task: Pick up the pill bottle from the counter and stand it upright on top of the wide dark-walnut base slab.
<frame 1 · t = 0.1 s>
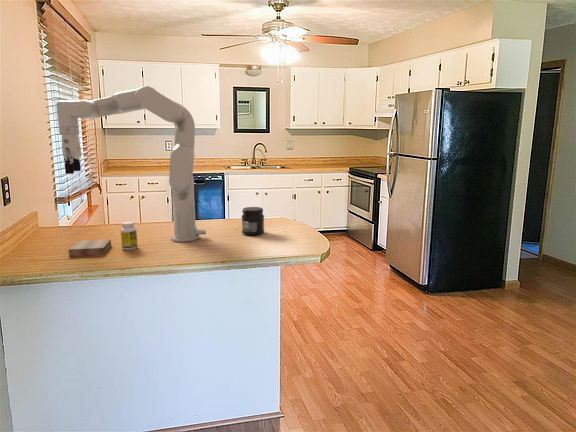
hand: (73, 172, 192), 31 cm above the table, fingers open, 9 cm apart
pill bottle: (130, 248, 190), on the table
supplement container: (253, 234, 213), on the table
walnut base: (91, 251, 186), on the table
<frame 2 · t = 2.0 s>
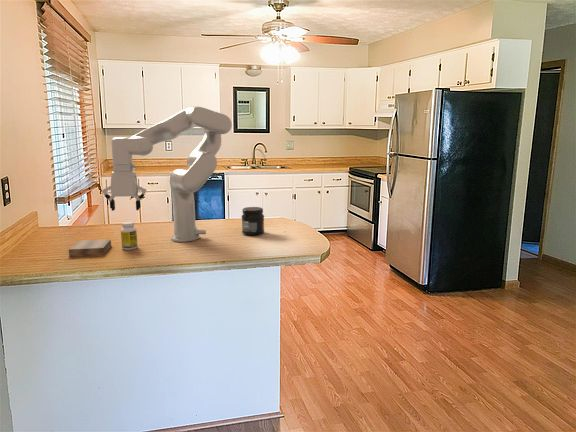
hand: (125, 209, 186), 16 cm above the table, fingers open, 9 cm apart
nothing on the table moved.
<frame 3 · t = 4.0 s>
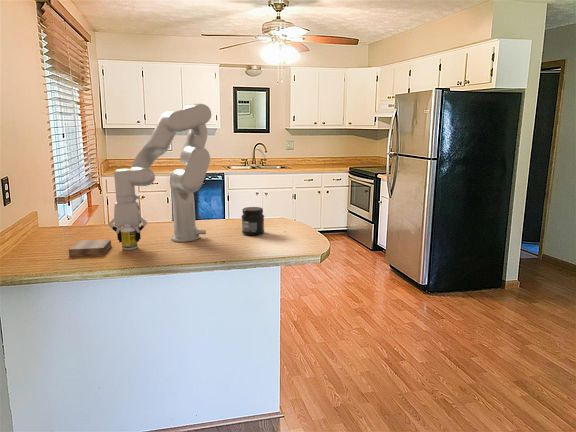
hand: (129, 241, 189), 3 cm above the table, fingers closed on pill bottle, 6 cm apart
pill bottle: (130, 248, 190), on the table, touching gripper
everything else where it was.
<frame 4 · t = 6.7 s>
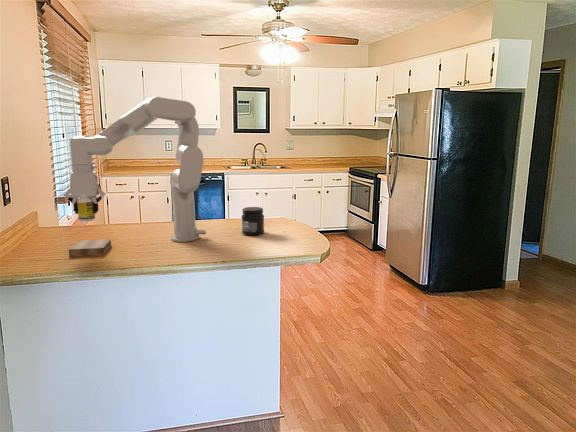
hand: (86, 212, 182), 16 cm above the table, fingers closed on pill bottle, 6 cm apart
pill bottle: (87, 220, 183), point 13 cm above the table, touching gripper
everything else where it was.
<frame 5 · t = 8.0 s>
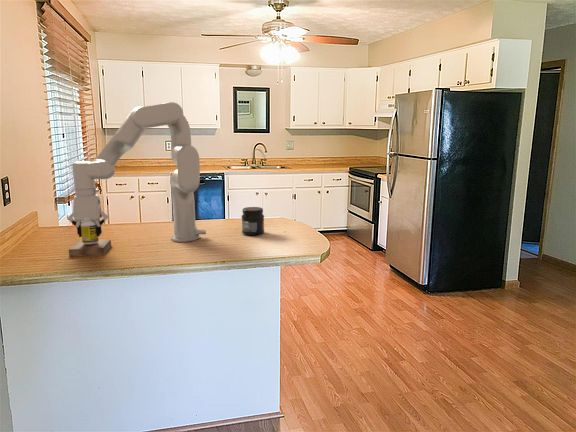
hand: (90, 235, 184), 7 cm above the table, fingers closed on pill bottle, 6 cm apart
pill bottle: (90, 243, 185), point 3 cm above the table, touching gripper
everything else where it was.
when the fingers open (7 cm above the table, at t = 9.2 s): pill bottle stays where it is, resting on walnut base.
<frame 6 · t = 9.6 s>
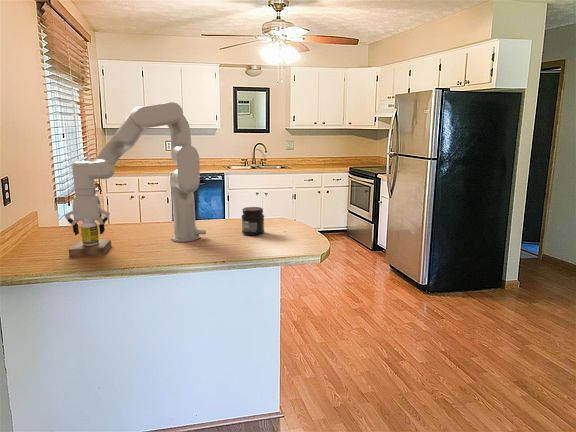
hand: (89, 233, 184), 7 cm above the table, fingers open, 9 cm apart
pill bottle: (91, 244, 185), point 3 cm above the table, touching walnut base
everything else where it was.
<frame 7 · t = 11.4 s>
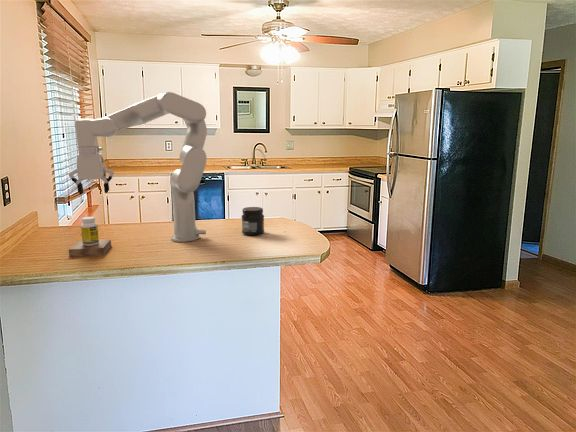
hand: (94, 193, 183), 24 cm above the table, fingers open, 9 cm apart
nothing on the table moved.
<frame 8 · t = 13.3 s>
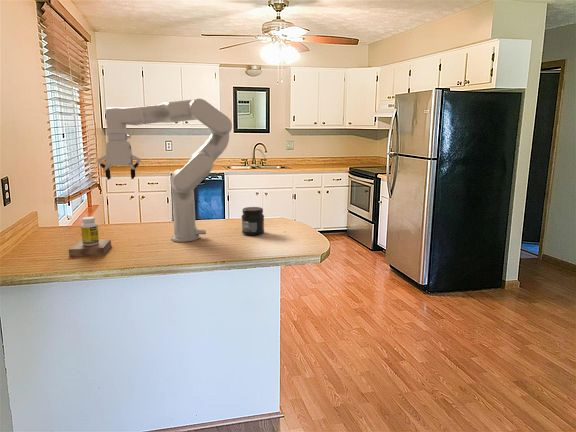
hand: (120, 178, 191), 28 cm above the table, fingers open, 9 cm apart
nothing on the table moved.
at the end: pill bottle 0.2 cm from the walnut base (horizontally); pill bottle point 2.8 cm above the table; pill bottle tilted 0° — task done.
